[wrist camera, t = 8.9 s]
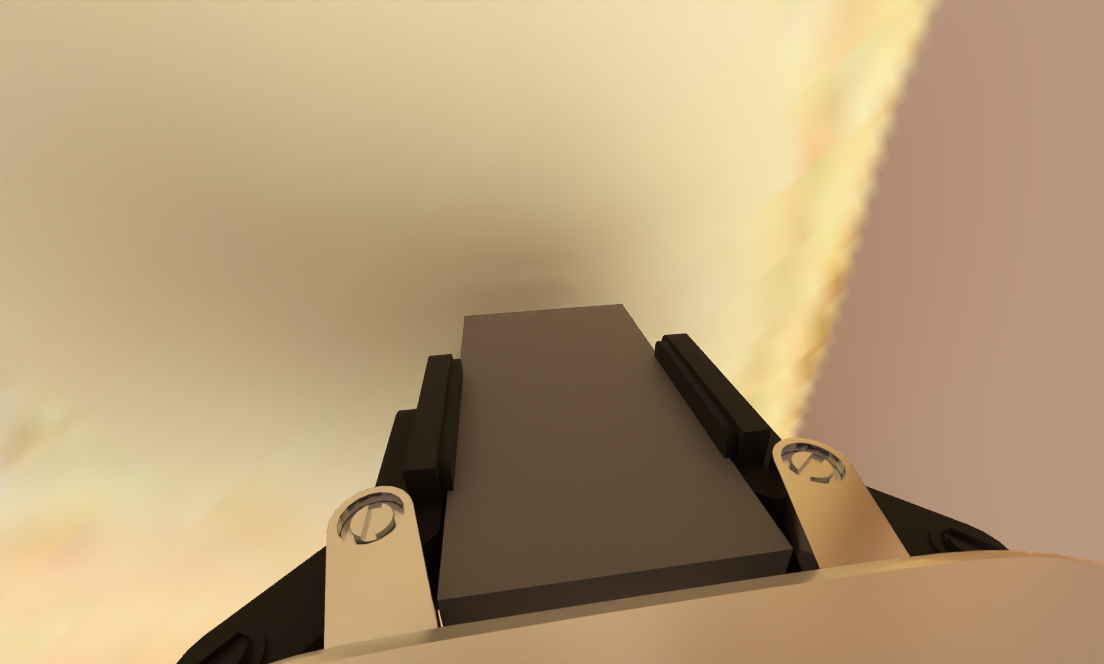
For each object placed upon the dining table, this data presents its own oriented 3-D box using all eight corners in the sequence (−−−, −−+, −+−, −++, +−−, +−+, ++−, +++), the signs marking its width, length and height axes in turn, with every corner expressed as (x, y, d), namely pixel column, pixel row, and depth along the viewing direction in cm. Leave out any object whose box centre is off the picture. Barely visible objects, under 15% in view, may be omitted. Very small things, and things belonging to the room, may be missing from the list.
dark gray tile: (464, 316, 14) (437, 600, 6) (621, 304, 14) (793, 548, 6) (471, 371, 15) (456, 682, 7) (619, 357, 15) (766, 630, 7)
